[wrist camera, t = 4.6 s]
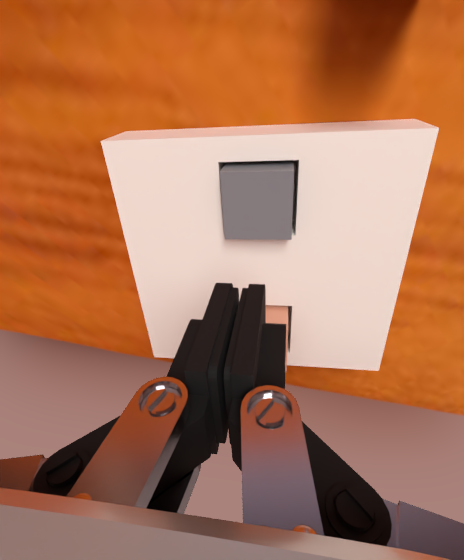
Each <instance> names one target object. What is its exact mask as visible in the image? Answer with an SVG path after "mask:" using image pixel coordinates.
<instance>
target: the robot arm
mask: <svg viewBox="0 0 464 560" xmlns="http://www.w3.org/2000/svg"><path fill="white" fill-rule="evenodd" d="M285 358H286V324H275V323H266V290H265V284H249V286H248V288H242V292H241V297H240V301H239V289H238V288H234V287H233V284H232V283H216V284H215V286H214V289H213V292H212V294H211V297H210V300H209V303H208V306H207V308H206V311H205V314H204V317H203V319H202V320H200V319H191V320H190V322H189V324H188V326H187V328H186V331H185V333H184V336H183V338H182V341H181V343H180V345H179V348H178V350H177V353H176V355H175V358H174V360H173V363H172V365H171V368H170V370H169V372H168V375H167V377H161V378H156V379H153V380H151V381H148V382H147V383H146V384H144V385H143V386H141V388H140V389H139V390H138V391H137V392H136V394H135V395H134V396H133V398H132V399H131V401H130V402H129V404H128V406H127V407H126V408H125V410H124V411H123V413H122V414H121V416H119V417H117V418H115V419H114V420H112V421H110V422H108V423H106V424H105V425H103V426H101V427H99V428H98V429H96V430H94V431H92V432H90V433H89V434H87V435H86V436H84V437H82V438H80V439H78V440H76V441H75V442H73V443H71V444H69V445H67V446H66V447H64V448H62V449H60V450H59V451H57V452H56V453H54V454H53V455H52V456H50V457H49V458H45V457H44V455H34V456H26V457H17V458H9V459H0V560H464V524H463V523H460V522H458V521H455V520H452V519H449V518H446V517H443V516H441V515H438V514H435V513H432V512H430V511H427V510H424V509H421V508H419V507H416V506H413V505H410V504H407V503H405V502H402V501H399V503H398V504H395V503H392V502H390V501H387V500H384V499H382V498H381V497H380V496H379V494H377V492H376V491H375V490H374V489H373V488H372V487H371V486H370V485H369V484H368V483H367V482H366V481H365V480H364V479H363V478H361V477H360V476H359V475H358V474H357V473H356V472H355V471H354V470H353V469H352V468H351V467H350V466H349V465H347V464H346V462H345V461H343V460H342V459H341V458H340V457H339V456H338V455H337V454H336V453H335V452H334V451H333V450H332V449H331V448H330V447H329V446H327V445H326V444H325V443H324V442H323V441H322V440H321V439H320V438H319V437H318V436H317V435H316V434H315V433H314V432H313V431H311V429H310V428H308V427H307V426H306V425H305V424H304V423H303V422H302V420H301V415H300V410H299V406H298V404H297V401H296V399H295V398H294V397H293V396H292V395H291V393H289V392H288V391H286V390H285ZM228 428H229V438H230V444H231V448H232V458H233V461H234V462H235V463H236V465H237V466H238V467H239V469H240V470H241V471H242V500H243V523H238V522H232V521H226V520H219V519H212V518H206V517H199V516H192V515H186V514H184V511H185V509H186V507H187V504H188V501H189V499H190V496H191V494H192V491H193V488H194V486H195V483H196V481H197V478H198V475H199V472H200V468H201V463H203V462H204V461H206V460H207V459H208V458H210V456H211V454H217V452H218V447H219V443H225V442H226V438H227V432H228Z"/></svg>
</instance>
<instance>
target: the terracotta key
mask: <svg viewBox="0 0 464 560" xmlns="http://www.w3.org/2000/svg"><path fill="white" fill-rule="evenodd" d="M266 323H275V324H286V358H285V372H287V348H288V306H277V305H266Z"/></svg>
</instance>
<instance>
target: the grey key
mask: <svg viewBox="0 0 464 560" xmlns="http://www.w3.org/2000/svg"><path fill="white" fill-rule="evenodd" d="M220 183H221V196H222V210H223V223H224V236H225V239H244V240H291V239H292V215H293V190H294V161H293V160H280V161H244V162H226V163H225V165H224V167H223V168H222V170H221V171H220Z"/></svg>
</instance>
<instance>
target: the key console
mask: <svg viewBox="0 0 464 560" xmlns="http://www.w3.org/2000/svg"><path fill="white" fill-rule="evenodd" d="M438 130H439V128H438V127H435V126H433V125H430V124H428V123H425V122H422V121H420V120H417V119H400V120H377V121H354V122H331V123H307V124H284V125H261V126H238V127H215V128H191V129H168V130H145V131H126V132H123V133H120V134H118V135H115V136H113V137H110V138H108V139H105V140H102V141H101V144H102V148H103V152H104V156H105V160H106V164H107V168H108V172H109V176H110V180H111V184H112V188H113V192H114V196H115V200H116V204H117V208H118V212H119V216H120V221H121V225H122V229H123V233H124V237H125V241H126V245H127V249H128V253H129V257H130V261H131V265H132V269H133V273H134V277H135V281H136V285H137V289H138V293H139V297H140V301H141V305H142V309H143V313H144V317H145V321H146V326H147V330H148V334H149V338H150V342H151V346H152V350H153V354H154V357H161V358H175V355H176V353H177V350H178V348H179V345H180V343H181V341H182V338H183V336H184V333H185V331H186V328H187V326H188V324H189V322H190V320H191V319H200V320H202V319H203V317H204V314H205V311H206V308H207V306H208V303H209V300H210V297H211V294H212V292H213V289H214V286H215V284H216V283H232V284H233V287H234V288H238V289H239V301H240V297H241V292H242V288H248V286H249V284H265V290H266V305H277V306H288V348H287V365H292V366H309V367H325V368H342V369H358V370H375V371H379V367H380V363H381V359H382V355H383V351H384V347H385V343H386V339H387V335H388V331H389V327H390V323H391V319H392V315H393V311H394V307H395V303H396V299H397V295H398V291H399V287H400V283H401V279H402V275H403V271H404V267H405V263H406V259H407V255H408V251H409V247H410V243H411V239H412V235H413V231H414V227H415V223H416V219H417V215H418V211H419V207H420V202H421V198H422V194H423V190H424V186H425V182H426V178H427V174H428V170H429V166H430V162H431V158H432V154H433V150H434V146H435V142H436V138H437V134H438ZM280 160H293V161H294V190H293V215H292V239H291V240H244V239H225V236H224V223H223V210H222V196H221V183H220V171H221V170H222V168H223V167H224V165H225V163H226V162H244V161H280Z"/></svg>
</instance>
